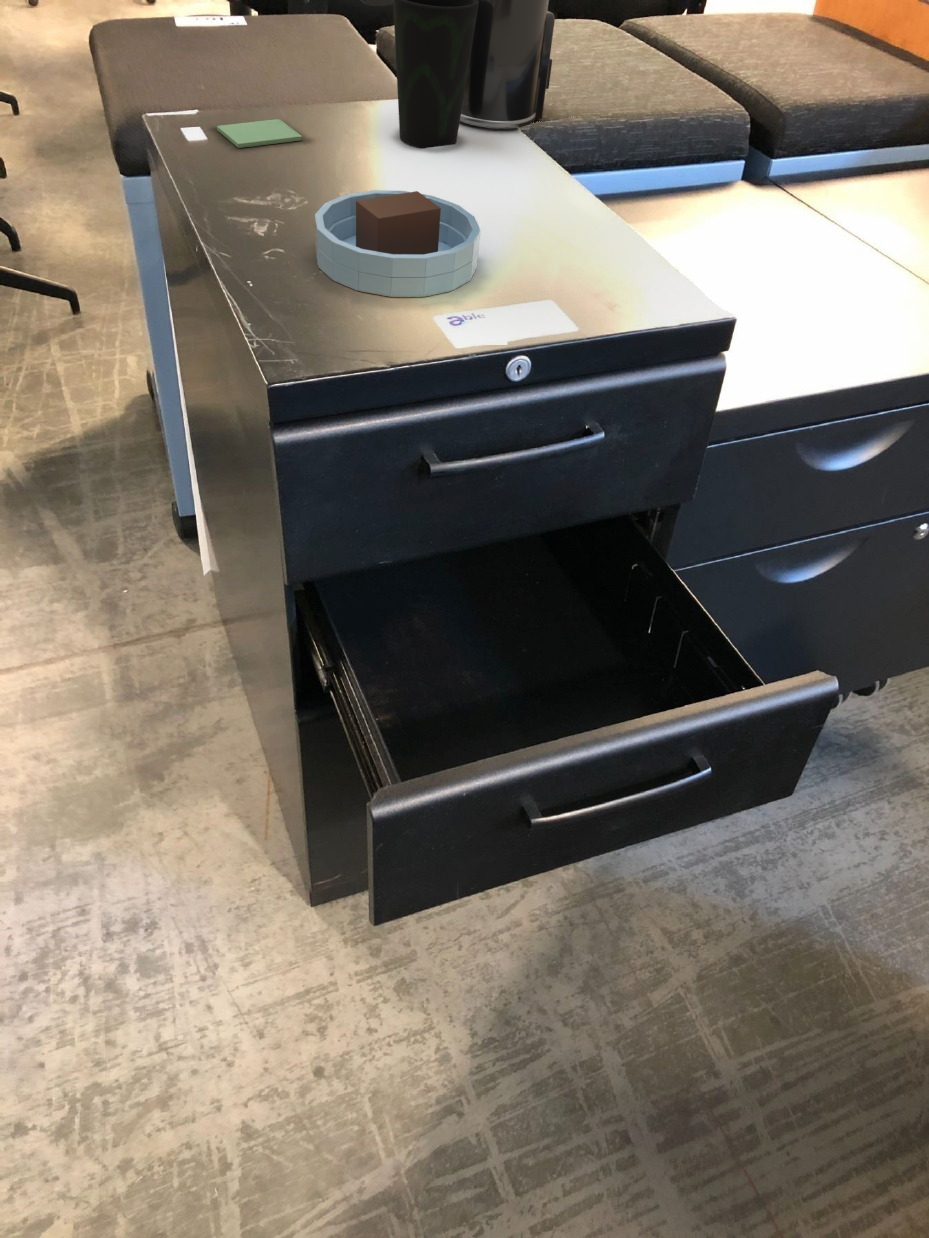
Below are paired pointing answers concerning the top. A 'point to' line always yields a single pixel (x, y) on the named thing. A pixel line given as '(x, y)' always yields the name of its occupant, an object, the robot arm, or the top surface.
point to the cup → (432, 67)
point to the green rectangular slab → (259, 133)
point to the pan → (395, 270)
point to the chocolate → (398, 224)
